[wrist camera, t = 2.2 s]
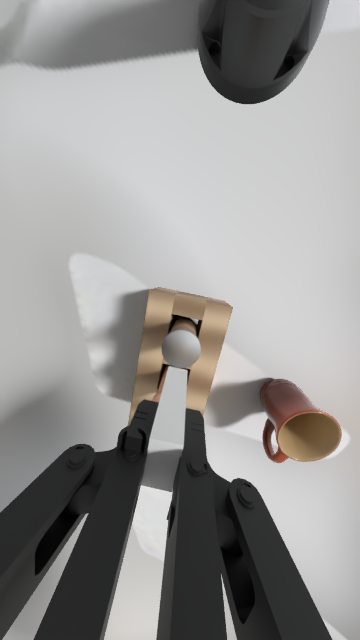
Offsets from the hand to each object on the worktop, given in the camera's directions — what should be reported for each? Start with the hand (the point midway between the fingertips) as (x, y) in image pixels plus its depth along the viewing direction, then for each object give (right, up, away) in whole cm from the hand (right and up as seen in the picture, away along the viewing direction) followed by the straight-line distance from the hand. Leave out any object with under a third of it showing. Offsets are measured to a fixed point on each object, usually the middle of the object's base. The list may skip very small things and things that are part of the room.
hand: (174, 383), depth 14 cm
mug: (+19, -11, +22) cm, 31 cm away
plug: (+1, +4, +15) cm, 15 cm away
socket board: (0, -3, +22) cm, 22 cm away
